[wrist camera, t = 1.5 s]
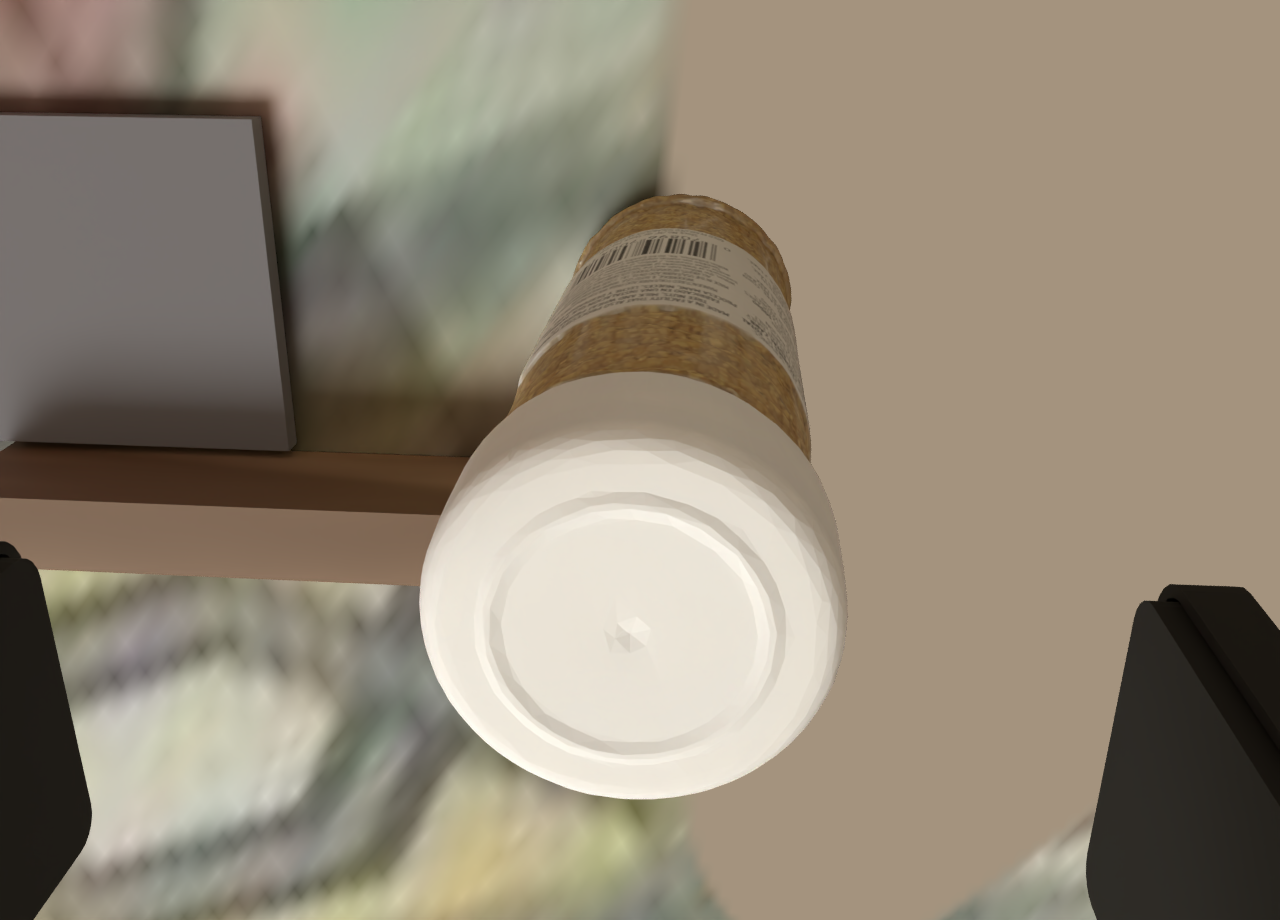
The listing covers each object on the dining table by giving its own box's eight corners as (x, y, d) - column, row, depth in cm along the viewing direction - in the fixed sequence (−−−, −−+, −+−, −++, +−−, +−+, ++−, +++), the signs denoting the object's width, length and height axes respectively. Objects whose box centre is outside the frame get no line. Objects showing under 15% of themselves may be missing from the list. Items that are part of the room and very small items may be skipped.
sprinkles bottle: (567, 392, 26) (407, 794, 13) (579, 176, 24) (406, 408, 12) (781, 412, 25) (821, 839, 13) (809, 197, 24) (884, 455, 11)
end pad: (297, 442, 27) (289, 451, 26) (-91, 429, 27) (-106, 436, 27) (261, 116, 24) (251, 119, 23) (-169, 108, 25) (-186, 111, 24)
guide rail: (768, 534, 27) (772, 601, 24) (29, 505, 28) (-49, 565, 25) (772, 468, 26) (776, 528, 23) (17, 440, 27) (-66, 494, 24)
